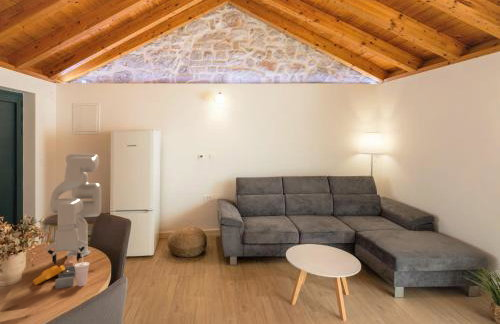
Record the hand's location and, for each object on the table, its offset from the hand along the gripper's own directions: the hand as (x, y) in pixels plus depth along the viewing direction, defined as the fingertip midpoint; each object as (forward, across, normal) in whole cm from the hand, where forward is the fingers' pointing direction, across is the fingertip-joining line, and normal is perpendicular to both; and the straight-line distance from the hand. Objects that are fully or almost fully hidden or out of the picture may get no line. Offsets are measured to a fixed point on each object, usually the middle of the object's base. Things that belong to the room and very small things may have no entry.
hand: (66, 261), depth 148 cm
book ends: (+9, 0, +1) cm, 9 cm away
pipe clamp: (+7, +10, -4) cm, 13 cm away
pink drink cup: (+9, -7, +9) cm, 15 cm away
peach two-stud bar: (+10, 0, -16) cm, 19 cm away
